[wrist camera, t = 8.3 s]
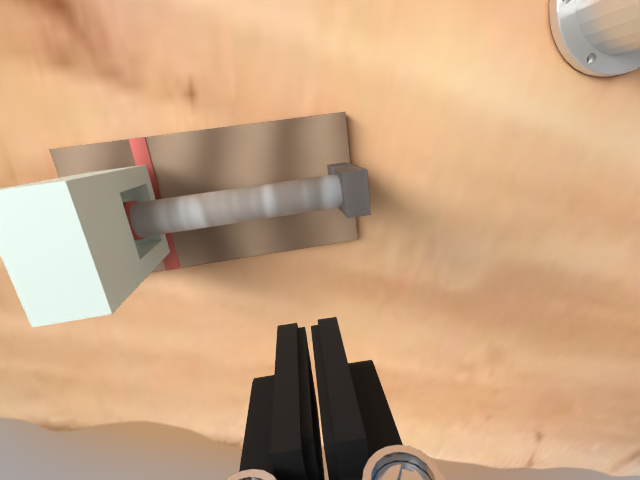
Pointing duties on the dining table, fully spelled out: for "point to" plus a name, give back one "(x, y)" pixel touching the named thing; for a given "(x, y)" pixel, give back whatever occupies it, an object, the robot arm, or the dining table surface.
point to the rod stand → (238, 187)
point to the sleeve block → (76, 243)
